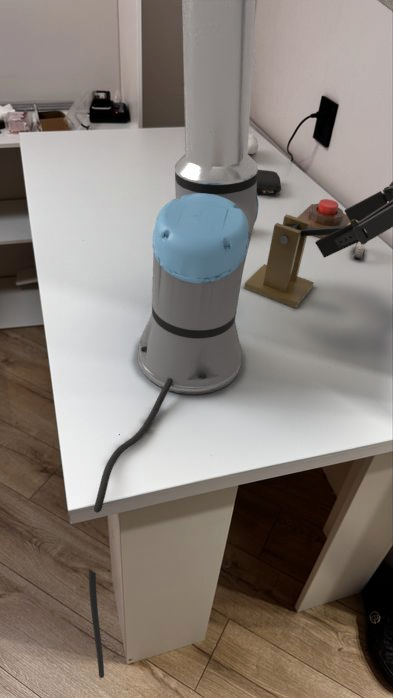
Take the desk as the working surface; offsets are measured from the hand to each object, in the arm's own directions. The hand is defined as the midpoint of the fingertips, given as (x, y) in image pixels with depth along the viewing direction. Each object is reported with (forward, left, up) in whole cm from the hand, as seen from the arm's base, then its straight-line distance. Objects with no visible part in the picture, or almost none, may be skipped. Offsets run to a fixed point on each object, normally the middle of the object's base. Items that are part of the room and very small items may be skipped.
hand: (335, 232), depth 84 cm
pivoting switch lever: (0, +2, -2) cm, 3 cm away
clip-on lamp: (+55, +45, -14) cm, 73 cm away
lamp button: (+28, +9, -10) cm, 31 cm away
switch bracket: (0, +7, -14) cm, 15 cm away
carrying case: (+36, +31, -14) cm, 50 cm away
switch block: (+28, +9, -14) cm, 32 cm away
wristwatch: (+21, -1, -14) cm, 25 cm away
